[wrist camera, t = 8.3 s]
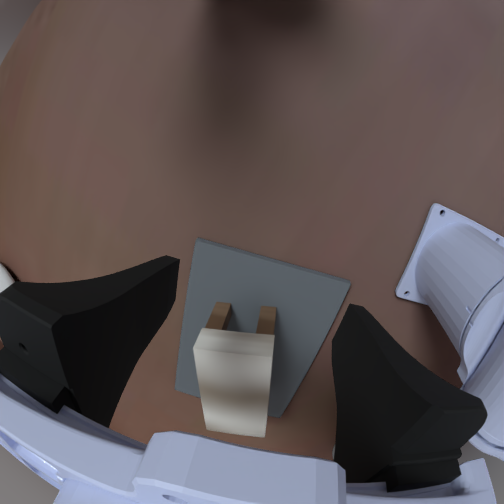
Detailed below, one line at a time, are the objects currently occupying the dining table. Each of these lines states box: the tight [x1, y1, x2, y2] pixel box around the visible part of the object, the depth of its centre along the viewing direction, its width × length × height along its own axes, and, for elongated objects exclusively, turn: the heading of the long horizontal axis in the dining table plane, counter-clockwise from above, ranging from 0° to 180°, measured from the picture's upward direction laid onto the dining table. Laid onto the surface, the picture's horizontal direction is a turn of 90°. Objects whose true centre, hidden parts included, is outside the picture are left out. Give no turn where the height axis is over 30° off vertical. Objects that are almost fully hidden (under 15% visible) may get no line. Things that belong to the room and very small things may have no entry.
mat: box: [175, 238, 351, 418], centre depth 25 cm, size 18×12×1 cm, turn 166°
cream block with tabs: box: [193, 302, 276, 437], centre depth 22 cm, size 10×5×6 cm, turn 179°
